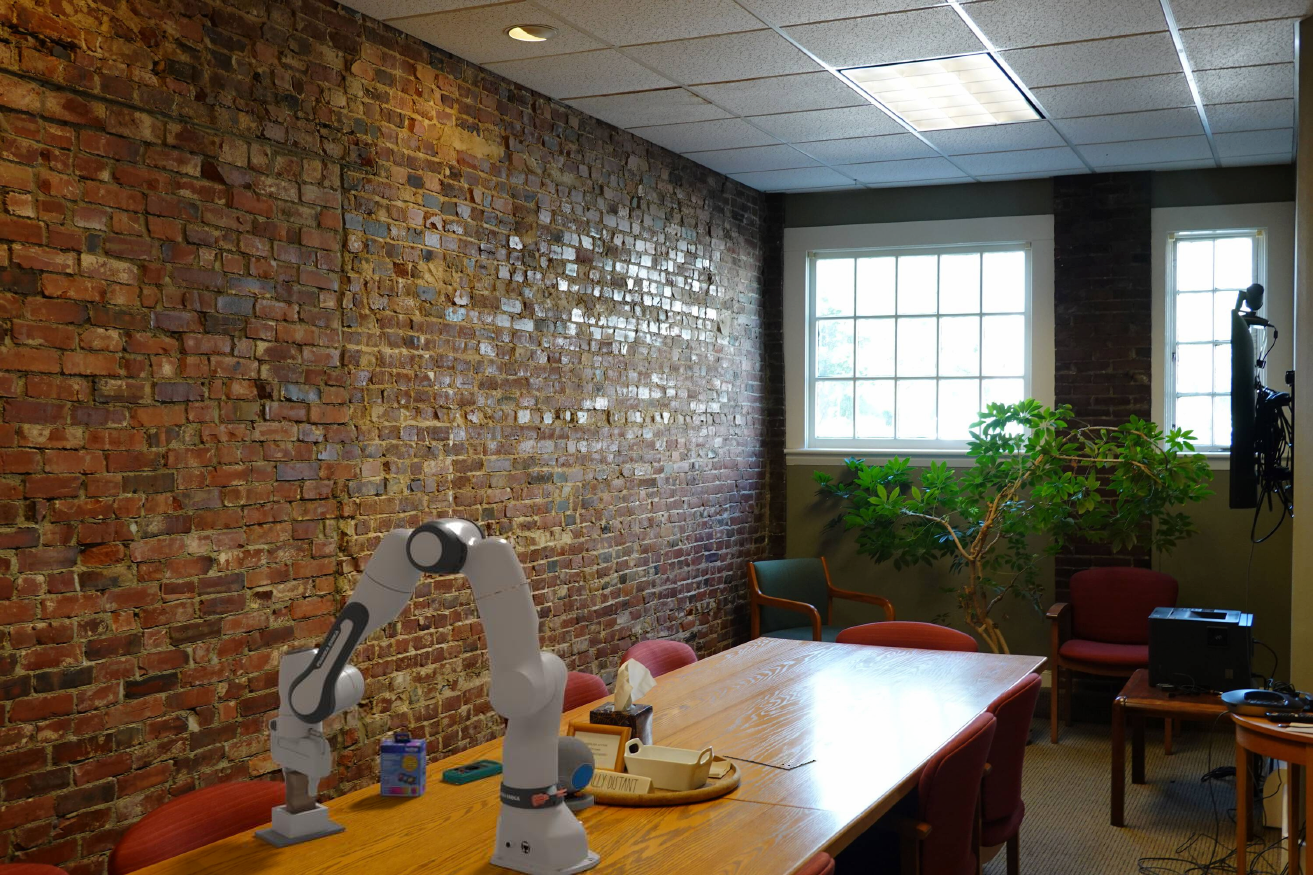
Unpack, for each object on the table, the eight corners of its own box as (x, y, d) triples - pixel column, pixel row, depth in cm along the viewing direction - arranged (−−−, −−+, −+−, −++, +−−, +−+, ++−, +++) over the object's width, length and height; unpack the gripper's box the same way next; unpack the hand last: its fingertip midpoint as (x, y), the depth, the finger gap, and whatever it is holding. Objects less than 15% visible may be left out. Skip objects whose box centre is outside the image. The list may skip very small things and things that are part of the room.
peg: (315, 829, 242) (315, 772, 242) (295, 834, 239) (295, 776, 239) (305, 824, 245) (305, 767, 246) (285, 829, 242) (285, 772, 243)
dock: (345, 830, 244) (345, 805, 244) (278, 847, 233) (278, 821, 233) (320, 819, 252) (320, 795, 252) (254, 835, 241) (254, 809, 241)
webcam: (570, 791, 272) (570, 727, 273) (606, 802, 263) (606, 736, 264) (527, 802, 263) (527, 736, 264) (563, 814, 254) (562, 746, 254)
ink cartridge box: (379, 796, 268) (379, 734, 269) (385, 790, 274) (385, 728, 274) (421, 797, 268) (421, 734, 268) (426, 790, 274) (426, 729, 274)
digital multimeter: (439, 781, 283) (439, 769, 283) (485, 768, 294) (485, 757, 294) (459, 787, 278) (459, 774, 278) (505, 773, 289) (505, 762, 289)
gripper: (338, 730, 238) (339, 797, 237) (292, 715, 252) (292, 778, 252) (310, 735, 233) (310, 804, 233) (265, 720, 248) (265, 784, 248)
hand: (301, 790), depth 242 cm, fingers open, 8 cm apart
